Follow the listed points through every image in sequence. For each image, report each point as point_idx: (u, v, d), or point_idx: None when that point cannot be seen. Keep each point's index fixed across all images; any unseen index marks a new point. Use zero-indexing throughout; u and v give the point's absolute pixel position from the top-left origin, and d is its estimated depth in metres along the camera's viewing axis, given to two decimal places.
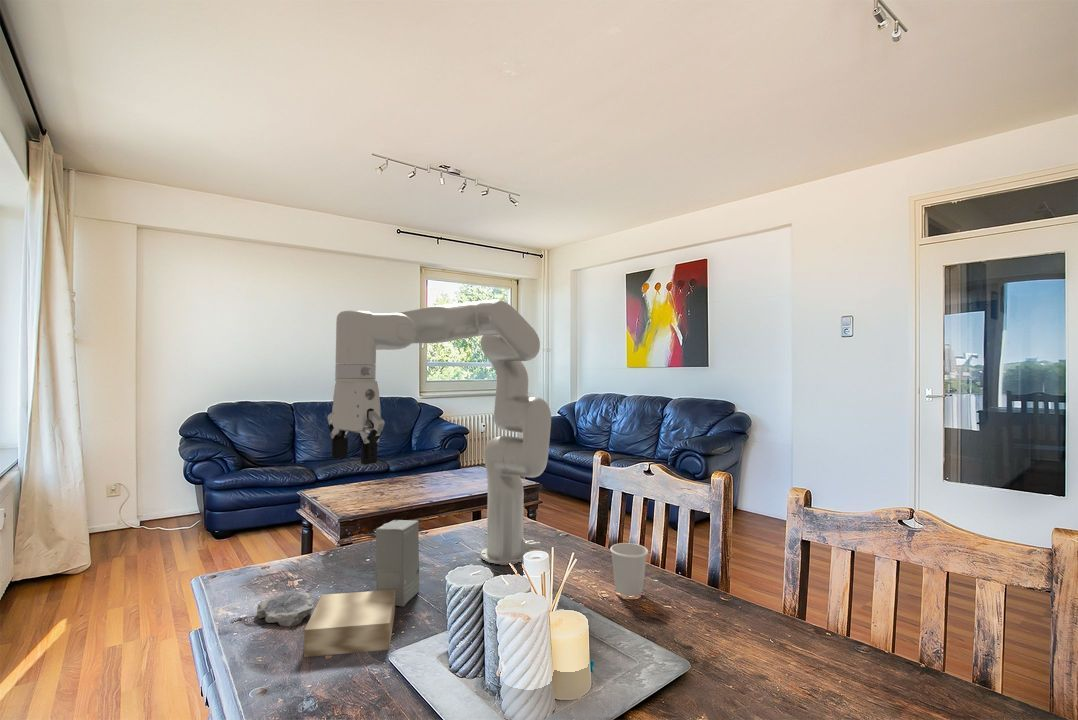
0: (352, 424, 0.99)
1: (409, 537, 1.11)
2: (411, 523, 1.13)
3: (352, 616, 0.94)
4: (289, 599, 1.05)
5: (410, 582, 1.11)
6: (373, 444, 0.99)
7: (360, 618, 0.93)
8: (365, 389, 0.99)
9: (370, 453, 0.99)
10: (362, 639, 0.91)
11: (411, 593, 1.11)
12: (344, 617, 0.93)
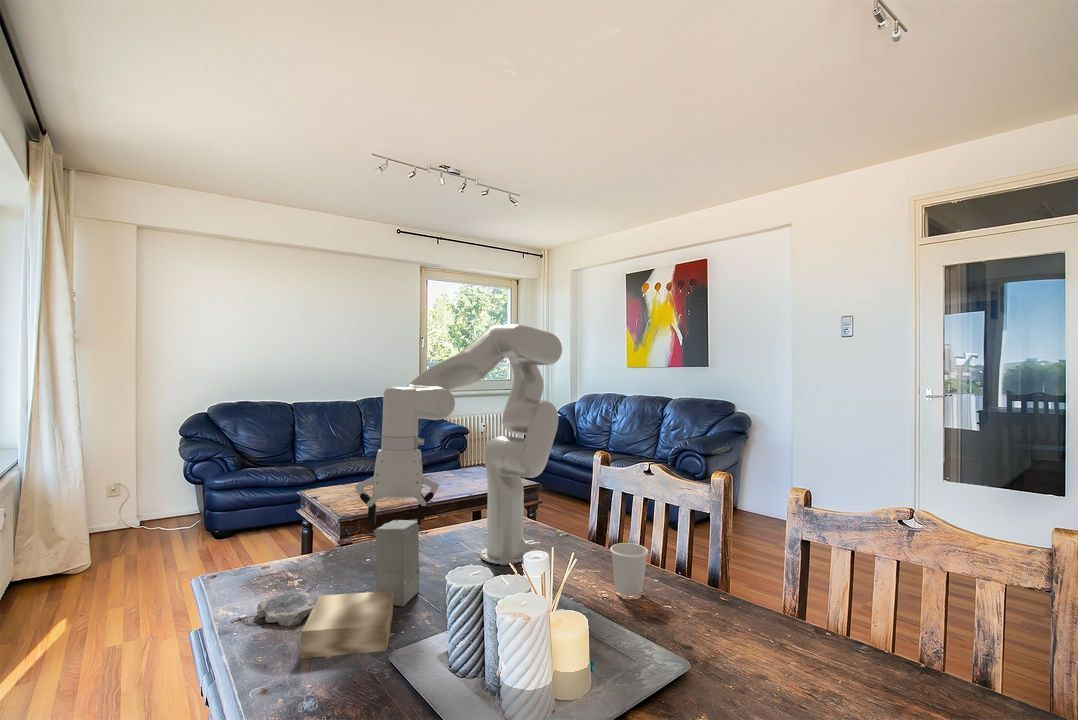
0: (409, 490, 1.10)
1: (409, 537, 1.11)
2: (411, 523, 1.13)
3: (349, 617, 0.93)
4: (289, 598, 1.05)
5: (410, 582, 1.11)
6: None
7: (357, 619, 0.93)
8: (420, 458, 1.12)
9: None
10: (360, 640, 0.90)
11: (411, 593, 1.11)
12: (342, 619, 0.93)
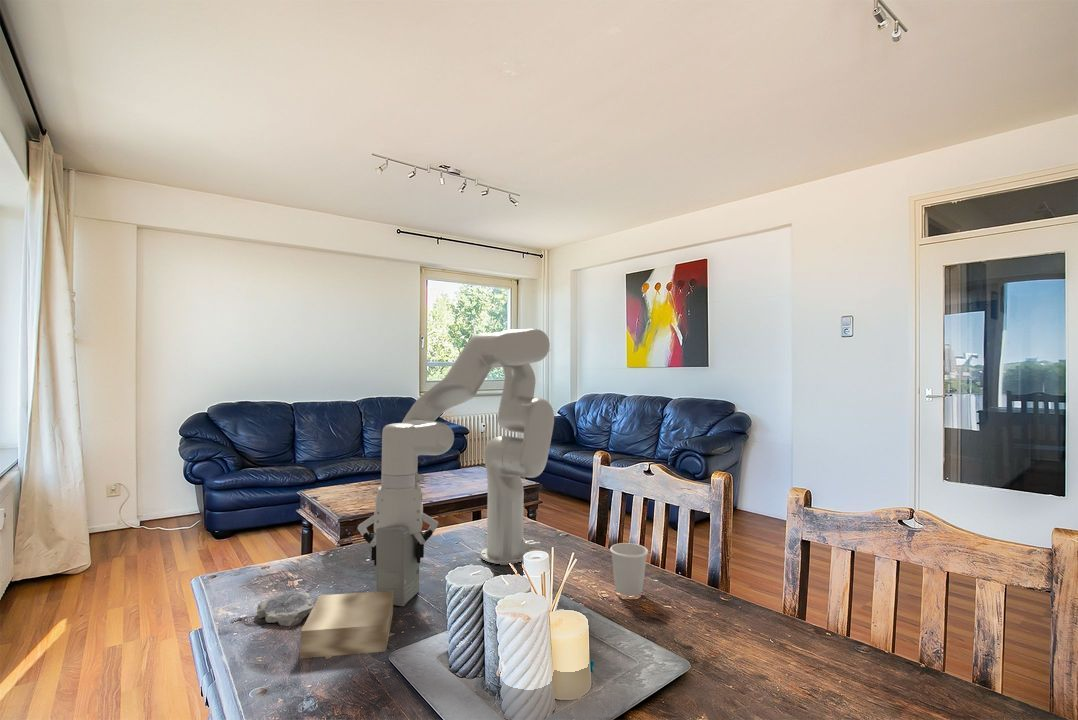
0: (410, 528, 1.11)
1: (409, 537, 1.11)
2: None
3: (349, 617, 0.93)
4: (289, 598, 1.05)
5: (410, 582, 1.11)
6: None
7: (357, 619, 0.92)
8: (420, 494, 1.12)
9: (423, 551, 1.13)
10: (359, 640, 0.90)
11: (411, 593, 1.11)
12: (341, 618, 0.93)
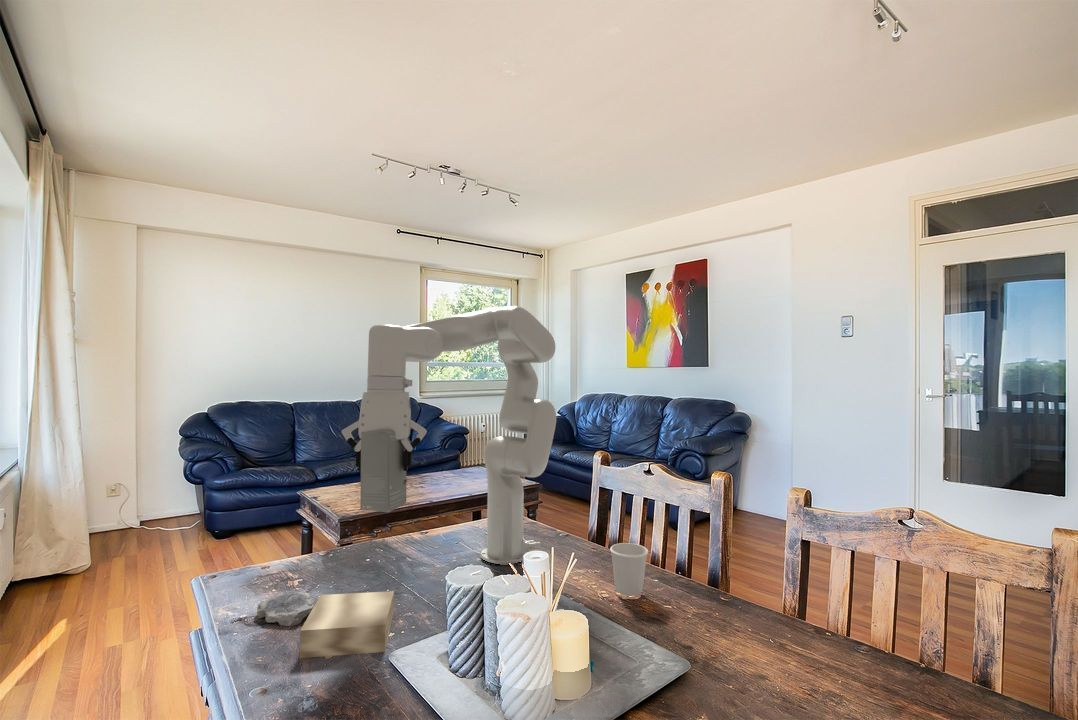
0: (396, 433, 1.05)
1: (396, 443, 1.05)
2: None
3: (348, 617, 0.93)
4: (289, 598, 1.05)
5: (397, 490, 1.05)
6: (411, 451, 1.08)
7: (356, 619, 0.92)
8: (408, 399, 1.07)
9: (410, 460, 1.07)
10: (358, 640, 0.90)
11: (397, 501, 1.05)
12: (341, 618, 0.93)
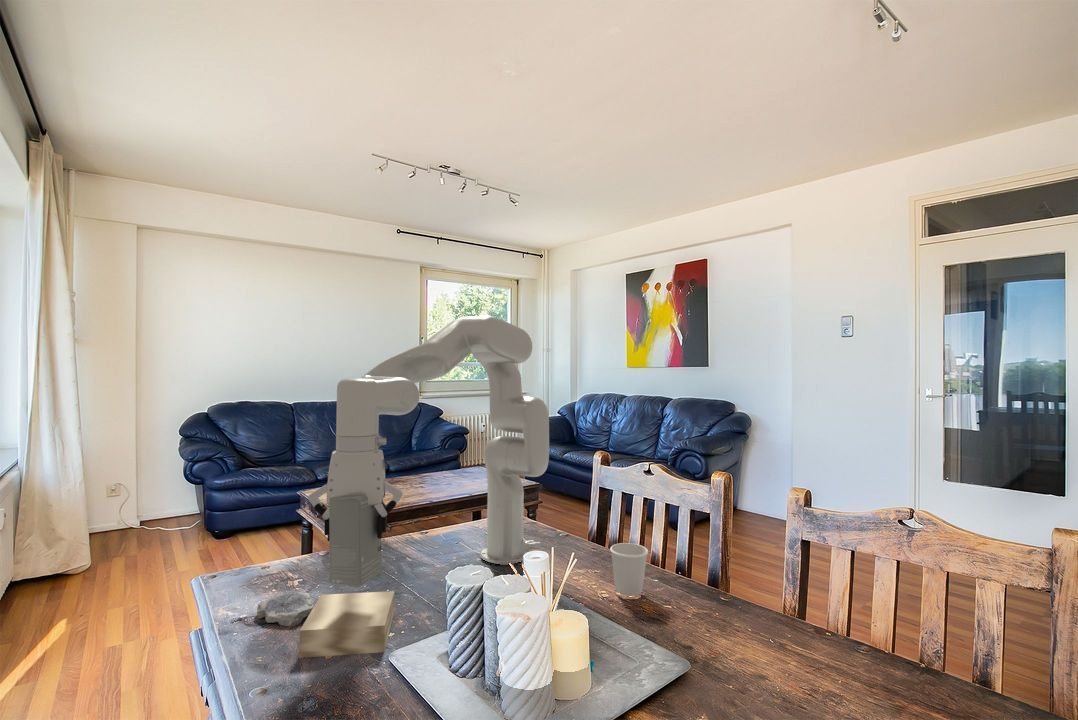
0: (369, 498, 0.96)
1: (368, 508, 0.96)
2: None
3: (348, 617, 0.93)
4: (289, 599, 1.05)
5: (370, 560, 0.96)
6: (386, 516, 0.99)
7: (356, 620, 0.92)
8: (381, 460, 0.98)
9: (385, 525, 0.98)
10: (357, 641, 0.90)
11: (370, 573, 0.96)
12: (341, 618, 0.93)
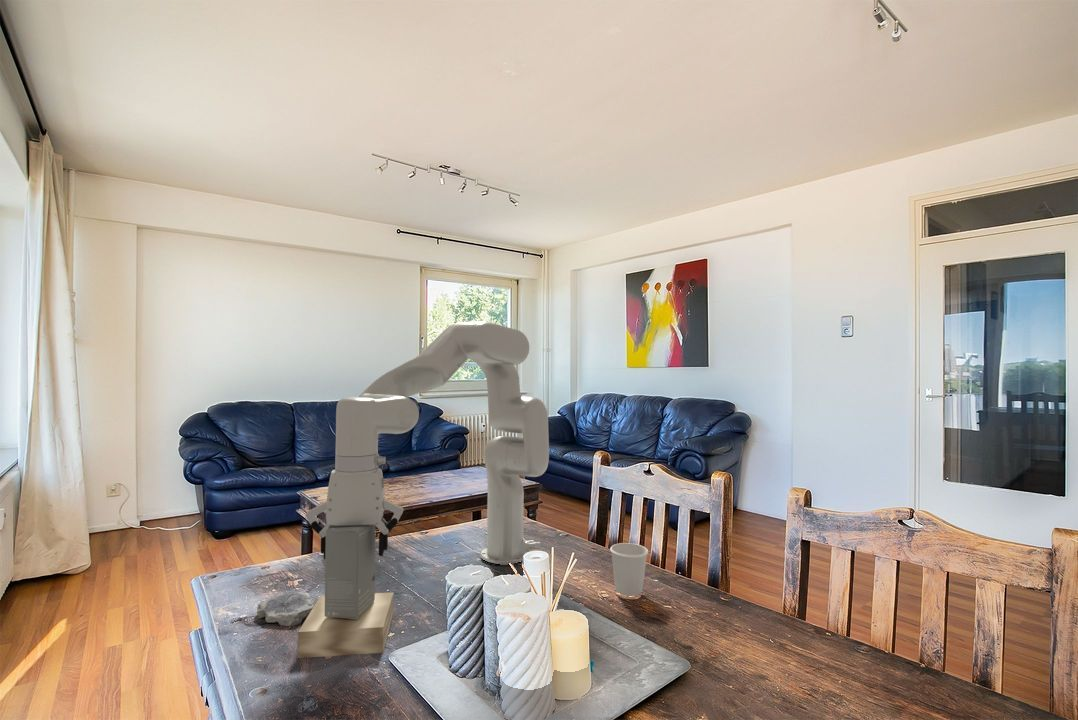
0: (368, 517, 0.96)
1: (365, 539, 0.96)
2: None
3: (347, 619, 0.93)
4: (289, 598, 1.05)
5: (365, 591, 0.96)
6: (387, 533, 0.99)
7: (354, 621, 0.92)
8: (381, 479, 0.97)
9: (387, 543, 0.98)
10: (356, 642, 0.90)
11: (365, 604, 0.96)
12: (339, 620, 0.93)
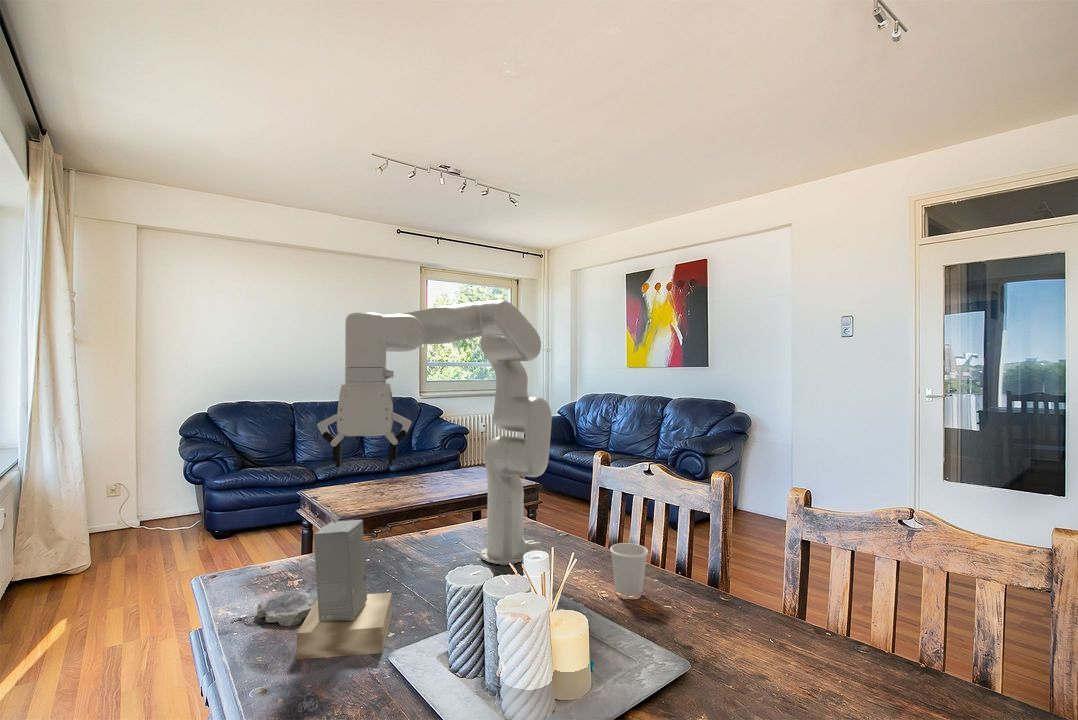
0: (378, 427, 0.99)
1: (355, 539, 0.95)
2: (355, 523, 0.97)
3: None
4: (289, 599, 1.05)
5: (358, 591, 0.95)
6: (396, 445, 1.02)
7: (353, 622, 0.92)
8: (389, 392, 1.01)
9: (396, 453, 1.01)
10: (355, 643, 0.90)
11: (359, 604, 0.95)
12: (338, 621, 0.92)
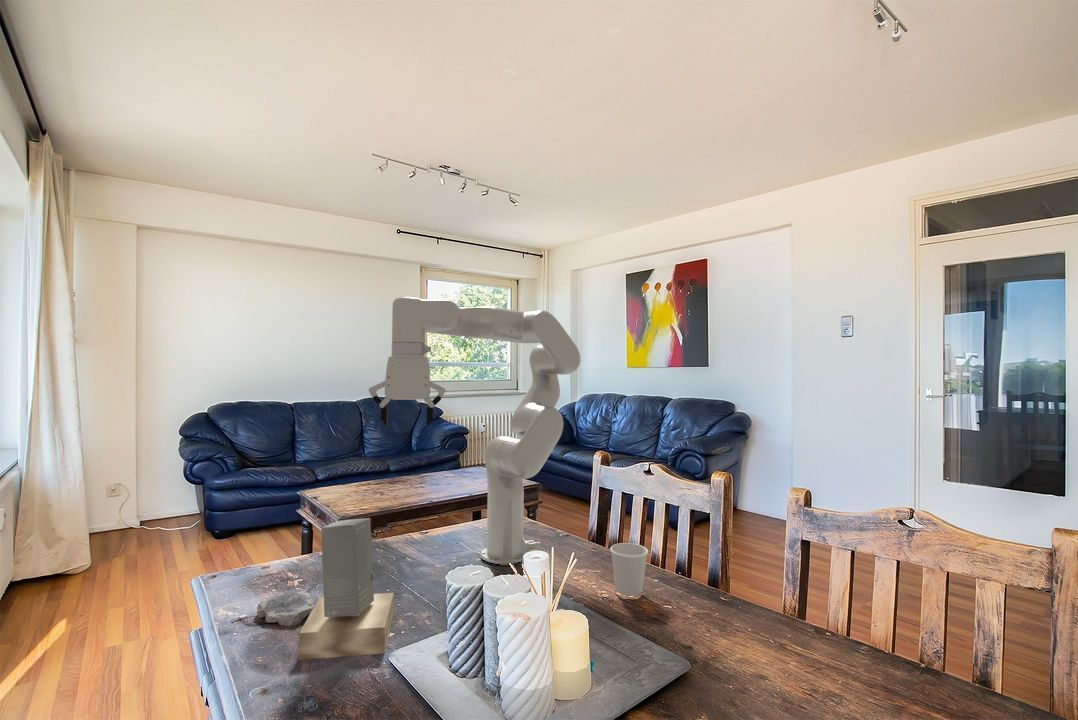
0: (418, 392, 1.19)
1: (361, 535, 0.96)
2: (362, 520, 0.99)
3: (348, 619, 0.93)
4: (289, 598, 1.05)
5: (365, 588, 0.95)
6: None
7: (356, 622, 0.92)
8: (428, 363, 1.21)
9: (432, 415, 1.21)
10: (358, 643, 0.89)
11: (365, 601, 0.95)
12: (340, 621, 0.92)
